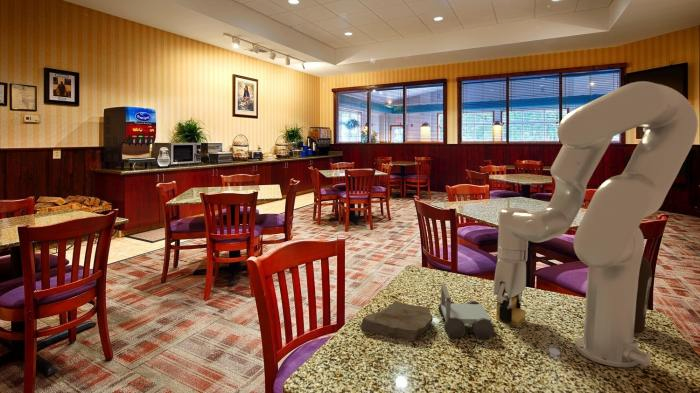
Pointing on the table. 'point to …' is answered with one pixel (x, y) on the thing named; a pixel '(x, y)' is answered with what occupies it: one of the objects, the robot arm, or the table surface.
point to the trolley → (464, 317)
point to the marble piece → (398, 321)
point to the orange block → (513, 312)
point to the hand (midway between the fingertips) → (509, 317)
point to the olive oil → (642, 295)
